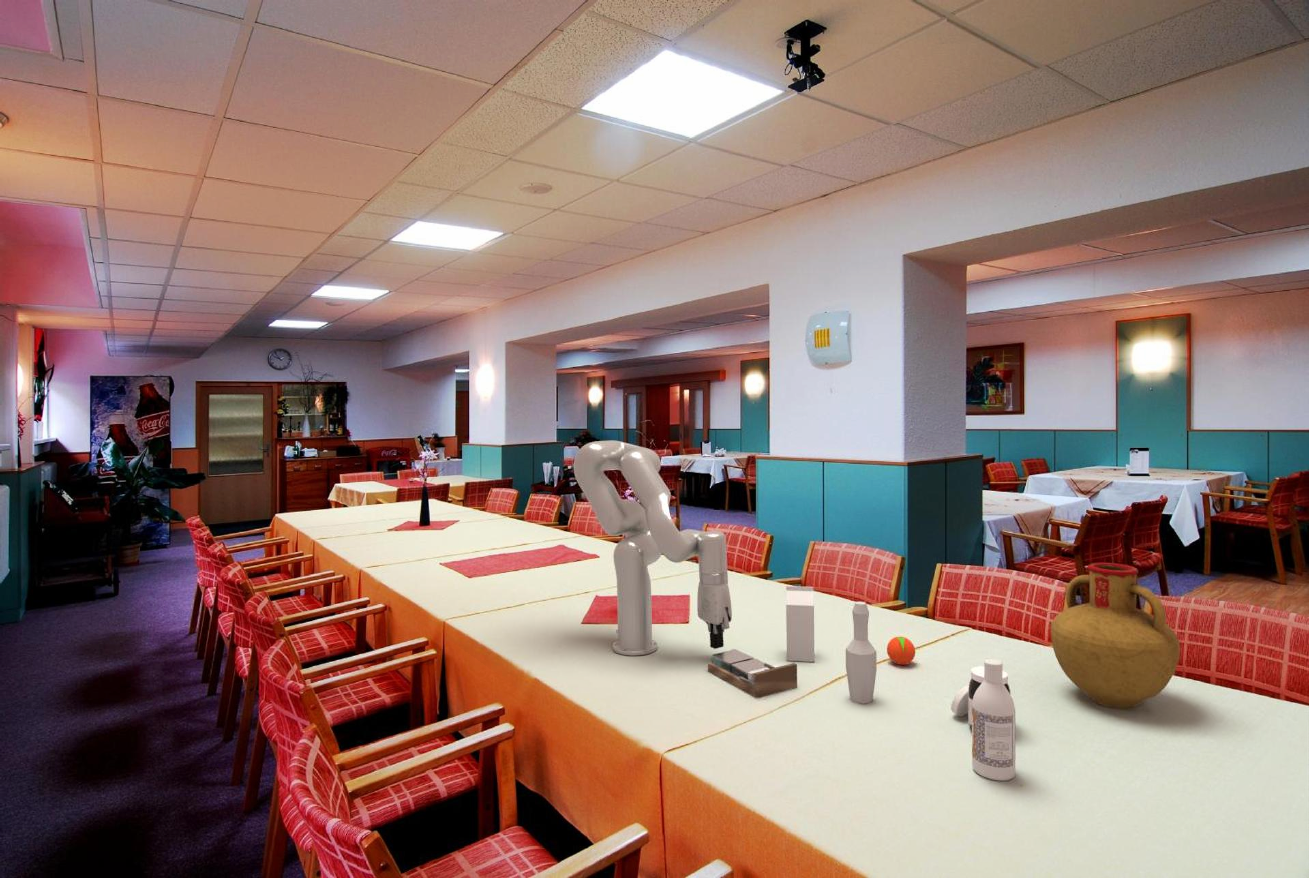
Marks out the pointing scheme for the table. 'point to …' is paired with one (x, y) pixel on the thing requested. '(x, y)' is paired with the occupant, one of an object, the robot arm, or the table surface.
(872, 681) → the faceted bottle
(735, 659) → the tin
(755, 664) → the white square block
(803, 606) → the milk carton
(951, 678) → the table surface
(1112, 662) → the vase
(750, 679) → the pusher
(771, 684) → the lane
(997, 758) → the bath foam
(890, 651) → the clementine
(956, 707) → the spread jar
